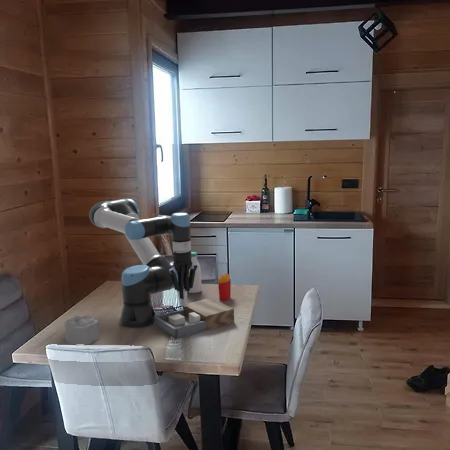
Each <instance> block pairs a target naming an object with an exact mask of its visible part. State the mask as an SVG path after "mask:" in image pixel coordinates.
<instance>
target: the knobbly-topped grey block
mask: <svg viewBox="0 0 450 450" xmlns="http://www.w3.org/2000/svg"><path fill="white" fill-rule="evenodd" d="M64 330H65V341H66V342H67V343H68V344H69V343H70V345H73V344H84V345H85V346H89V345H91V344H92V343H94V342H96V341H98V340H99V339H100V330H99V320H98V319H96V318H93V317H92V316H90V315H88V314H86V315H84V316H80V315H75V316H74V317H70V318H69V319H66V320H65V322H64Z"/></svg>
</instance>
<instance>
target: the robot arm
mask: <svg viewBox="0 0 450 450" xmlns="http://www.w3.org/2000/svg"><path fill="white" fill-rule="evenodd" d="M88 217H89V220H90V223H92V225H94V226H96V227H97V228H101V229H106V228H108V229H110V230H114V231H117V232H119V233H122V234H124V236H125V238H126V239H127V241H128V242H129V244H130V245H131V247H132V249H133V250H134V252H135V254H136V255H137V257H138V258H139V259H140V261H141V263H142V264H138V265H132V266H129V267H127V268H125V269H124V270H123V271H122V273H121V281H120V282H121V287H122V288H121V291H122V300H123V301H122V303H123V305H122V310H121V314H120V316H119V319H120V320H119V323H120V325H121V326H123V327H126V328H132V329H133V328H143V327H148V326H151V325H152V324H154V316H157V313H156V311H155V309H154V306H153V304H152V295H154V294H159V293H161V292H165V291H166V292H167V291H170V290H172V289H174V290H175V291H176V292H179V293H178V294H179V299H180V301H181V303H180V304H181V306H182V307H183V306H184V307H186V306H188V302H189V301H188V298H189V297H190V293H189V291H190V289H191V288H193V283H194V277H195V271H196V269H197V265H194V264H192V261H191V259H192V256H191V252H192V251H191V250H192V241H191V237H192V236H191V235H192V234H191V219H190V214H188V212H175V213H172V214H171V215H166V214H163V215H162V214H159V215H157V216H155V217H151V218H145V219H140V210H139V206H138V204H137V202H136V201H134V200H133V199H131V198H120V199H113V200H103V201H100V202H96V203H95V204H94V205H93V206H92V207H91V208H90V210H89V215H88ZM162 235H170V236H172V237H171V239H172V251H173V252H172V259H173V260H172V261H169V260H168V258H167V257H166V256H165V255H161V254H160V252H159V251H158V249H157V247H156V246H155V244H154V243H153V242H152V240H151V239H150V238H151V237H158V236H162ZM190 268H191V269H190ZM189 270H190V273H189Z"/></svg>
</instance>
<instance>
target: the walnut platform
mask: <svg viewBox="0 0 450 450" xmlns="http://www.w3.org/2000/svg"><path fill="white" fill-rule="evenodd" d="M182 309H184V313H185V317H187V318H189V313H192V312H195V313H196V314H198V315H200V322H201V321H204V320H205V321H206V331H209V330H213V329H216V328H220V327H223V326H226V325H230V324H233V323H235V309H234V307H231V306H229V305H227V304H225V303H223V302H220V301H218V300H216V299H213V298H212V297H209V298H204V299H201V300H196V301H192V302H189V303H188V306H186V307H184V306H182Z"/></svg>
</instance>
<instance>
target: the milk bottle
mask: <svg viewBox="0 0 450 450" xmlns="http://www.w3.org/2000/svg"><path fill="white" fill-rule="evenodd" d="M191 256H192V259H191V261H192V264H194V265H197V269H196V271H195V277H194V283H193V288H191V289H190V291H189V294H197V293H201V292H202V288H203V287H202V272H201V270H202V269H201V264H200V263H199V261H198V252H196V251H191ZM190 269H191V268H190ZM189 273H190V270H189Z"/></svg>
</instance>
